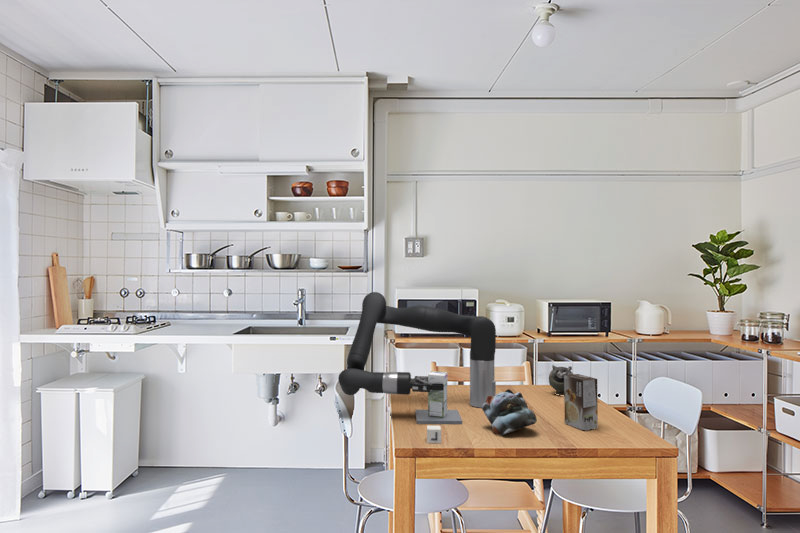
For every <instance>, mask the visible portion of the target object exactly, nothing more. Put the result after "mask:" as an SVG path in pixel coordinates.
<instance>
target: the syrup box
mask: <svg viewBox="0 0 800 533" xmlns="http://www.w3.org/2000/svg"><path fill="white" fill-rule="evenodd" d="M427 376H428V383H432V385H433V383H440V384H444V390H443V391H439V390H432V391H430V392H427V410H428V416H433V417H445V416H446V414H447V410H448V372H447V371H430V372H429V373H428V375H427Z"/></svg>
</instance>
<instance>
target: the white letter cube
mask: <svg viewBox="0 0 800 533" xmlns="http://www.w3.org/2000/svg"><path fill="white" fill-rule="evenodd" d="M426 441H427V442H426V443H427V444H442V427H441V425H431V424H426Z"/></svg>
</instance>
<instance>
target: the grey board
mask: <svg viewBox="0 0 800 533" xmlns="http://www.w3.org/2000/svg"><path fill="white" fill-rule="evenodd" d="M415 419H416V420H415V421H416V424H417V425H418V424H419V425H420V424H421V425H463V419H462V417H461V414H460V412H459V410H458V409H447V414H446V416H445V417H433V416H428V409H425V408H424V409H415Z"/></svg>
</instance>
